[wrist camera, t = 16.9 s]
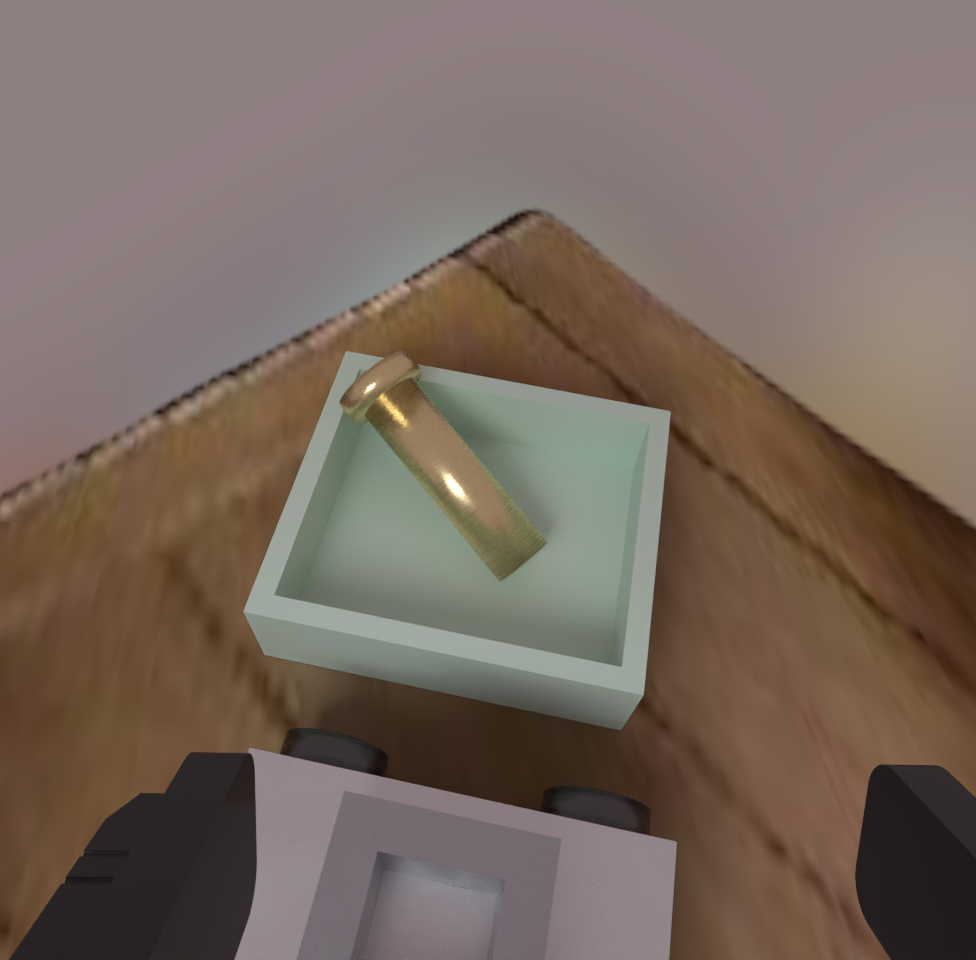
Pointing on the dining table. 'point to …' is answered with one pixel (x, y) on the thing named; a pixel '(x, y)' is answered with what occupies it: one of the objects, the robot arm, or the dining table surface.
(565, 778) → the dining table surface
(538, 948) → the trolley
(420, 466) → the pin
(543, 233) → the dining table surface
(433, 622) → the tray
